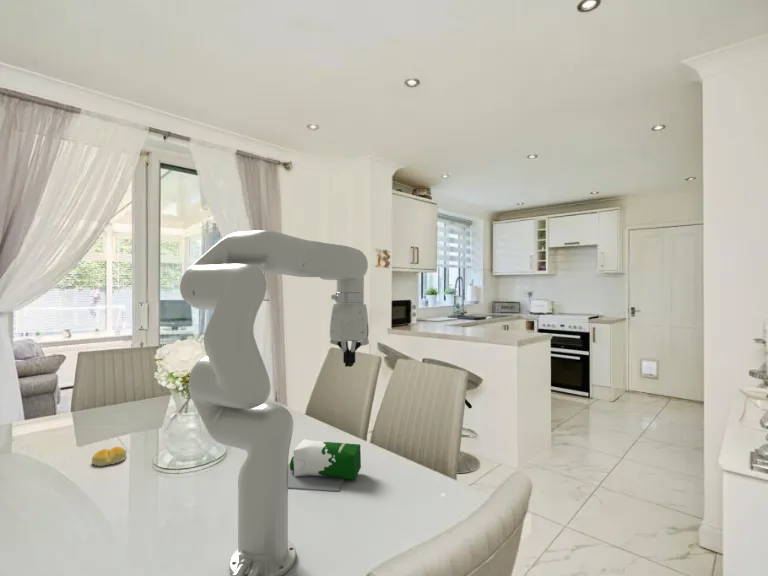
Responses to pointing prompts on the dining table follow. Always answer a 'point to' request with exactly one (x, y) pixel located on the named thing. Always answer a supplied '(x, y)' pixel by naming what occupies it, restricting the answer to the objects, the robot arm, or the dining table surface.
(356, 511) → the dining table surface
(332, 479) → the placemat
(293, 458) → the white and green box
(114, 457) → the bread roll
